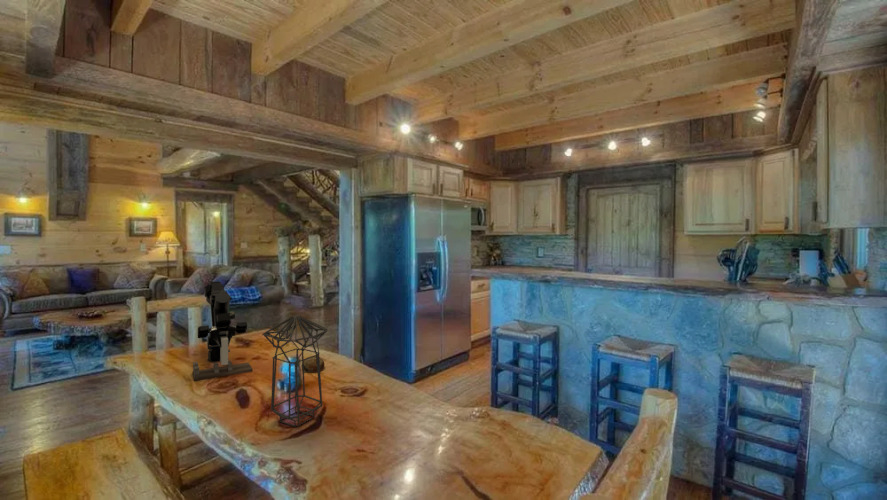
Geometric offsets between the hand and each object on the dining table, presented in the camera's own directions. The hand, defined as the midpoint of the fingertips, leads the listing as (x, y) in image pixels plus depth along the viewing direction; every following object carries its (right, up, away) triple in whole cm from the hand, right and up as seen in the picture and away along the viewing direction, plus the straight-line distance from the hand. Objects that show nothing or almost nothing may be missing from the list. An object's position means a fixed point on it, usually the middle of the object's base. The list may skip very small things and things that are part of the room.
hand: (224, 346), depth 166 cm
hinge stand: (-4, -13, +6) cm, 14 cm away
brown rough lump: (+34, -14, +11) cm, 38 cm away
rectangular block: (-1, -8, +1) cm, 8 cm away
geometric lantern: (+45, -15, -39) cm, 61 cm away
